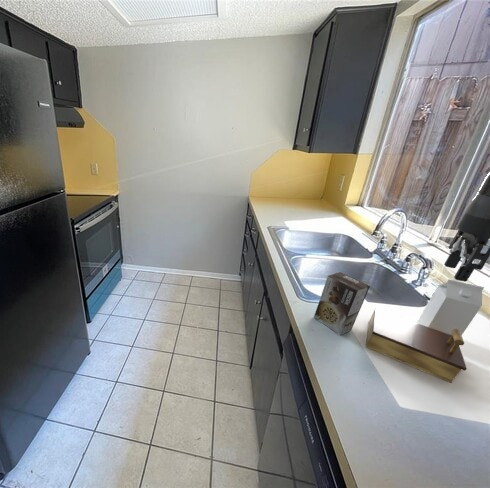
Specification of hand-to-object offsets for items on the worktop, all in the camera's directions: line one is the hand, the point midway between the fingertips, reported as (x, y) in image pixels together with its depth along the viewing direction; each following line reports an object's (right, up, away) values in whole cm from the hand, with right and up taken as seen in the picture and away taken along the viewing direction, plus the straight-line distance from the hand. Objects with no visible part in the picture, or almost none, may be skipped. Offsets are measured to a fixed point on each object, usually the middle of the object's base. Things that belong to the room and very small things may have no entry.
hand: (454, 273), depth 68 cm
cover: (-8, -18, +3) cm, 20 cm away
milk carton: (+6, -21, +11) cm, 24 cm away
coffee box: (-23, -18, +14) cm, 33 cm away
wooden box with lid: (-8, -22, +5) cm, 24 cm away
